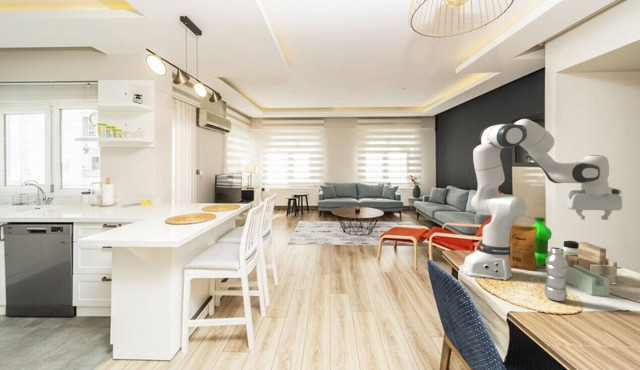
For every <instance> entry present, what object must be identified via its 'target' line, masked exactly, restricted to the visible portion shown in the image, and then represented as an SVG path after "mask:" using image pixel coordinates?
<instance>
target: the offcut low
mask: <svg viewBox="0 0 640 370" xmlns="http://www.w3.org/2000/svg"><path fill="white" fill-rule="evenodd" d="M573 265H577V266H578V264H574V263H572V262H569V261H568V266H569V267H571V268H573Z"/></svg>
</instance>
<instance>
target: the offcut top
mask: <svg viewBox="0 0 640 370" xmlns="http://www.w3.org/2000/svg"><path fill="white" fill-rule="evenodd" d="M579 259H583V258H580V257H577V256H569V262H572V263H574V264H578V260H579Z"/></svg>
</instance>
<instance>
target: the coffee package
mask: <svg viewBox="0 0 640 370" xmlns="http://www.w3.org/2000/svg"><path fill="white" fill-rule="evenodd" d="M536 232H537V227H536V226H532V225H518V224H515V223H514V224H513V225H512V228H511V231H510V241H509V246H510V257H509V260H510V268H517V269H520V270H527V271H535V270H536V268H537V264H536V257H535V248H536Z"/></svg>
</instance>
